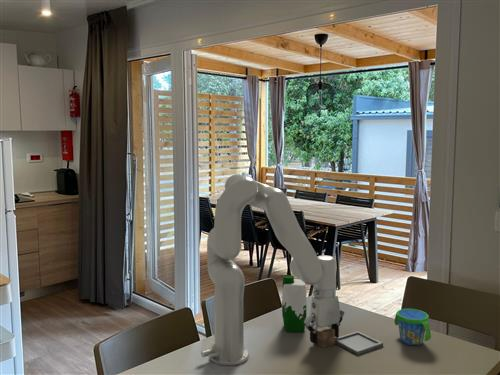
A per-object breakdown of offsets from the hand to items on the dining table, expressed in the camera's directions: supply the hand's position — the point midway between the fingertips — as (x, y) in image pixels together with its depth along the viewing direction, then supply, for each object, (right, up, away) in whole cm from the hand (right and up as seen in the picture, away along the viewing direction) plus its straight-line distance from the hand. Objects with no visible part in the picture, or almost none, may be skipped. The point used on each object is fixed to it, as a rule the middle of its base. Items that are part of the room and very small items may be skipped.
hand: (324, 339), depth 168 cm
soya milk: (-9, 0, +13) cm, 16 cm away
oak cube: (0, -1, 0) cm, 1 cm away
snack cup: (+31, -1, 0) cm, 31 cm away
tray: (+11, -1, -1) cm, 11 cm away
